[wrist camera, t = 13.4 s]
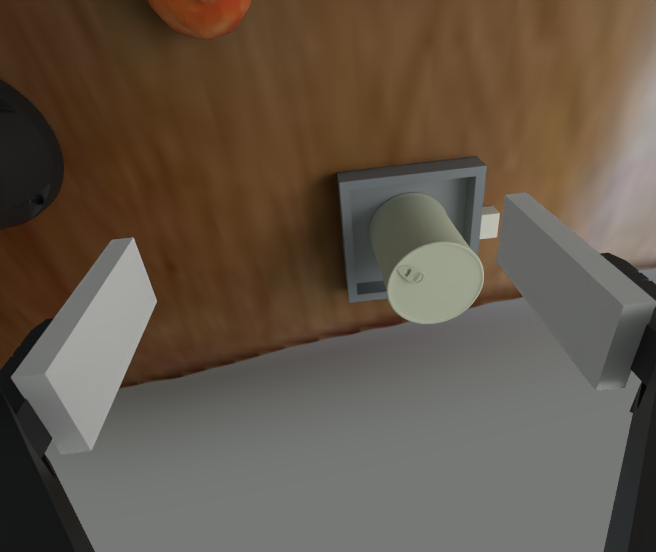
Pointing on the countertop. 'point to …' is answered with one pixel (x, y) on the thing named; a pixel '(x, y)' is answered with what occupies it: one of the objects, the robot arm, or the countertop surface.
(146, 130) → the countertop surface
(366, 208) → the drawer
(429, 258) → the can
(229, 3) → the tomato
